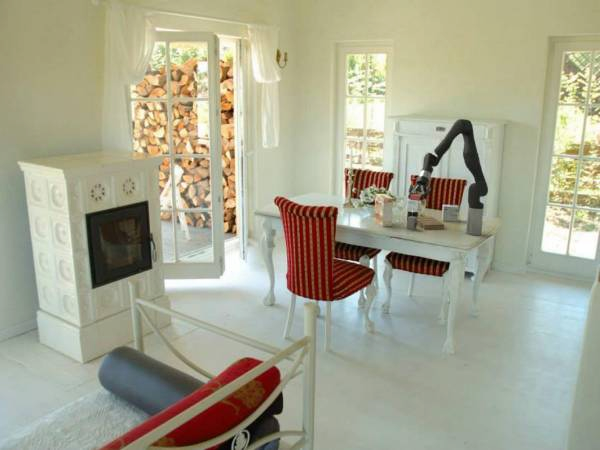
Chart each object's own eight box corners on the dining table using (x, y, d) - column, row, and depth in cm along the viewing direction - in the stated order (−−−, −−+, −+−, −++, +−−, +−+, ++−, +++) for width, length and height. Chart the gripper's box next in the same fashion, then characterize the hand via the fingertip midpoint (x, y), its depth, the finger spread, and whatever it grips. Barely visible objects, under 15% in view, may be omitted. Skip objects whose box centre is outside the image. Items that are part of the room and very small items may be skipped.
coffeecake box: (373, 221, 394) (375, 193, 389) (383, 221, 396) (384, 193, 391) (381, 226, 380) (383, 198, 375) (391, 226, 382) (393, 197, 377)
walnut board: (444, 228, 378) (444, 224, 378) (424, 229, 376) (424, 224, 375) (430, 220, 399) (431, 216, 399) (411, 221, 397) (412, 217, 396)
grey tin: (416, 228, 377) (417, 217, 375) (413, 230, 373) (414, 218, 371) (409, 227, 380) (410, 215, 378) (406, 229, 376) (407, 217, 374)
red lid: (423, 199, 374) (423, 194, 373) (419, 200, 369) (419, 196, 368) (413, 197, 378) (414, 193, 377) (410, 199, 372) (410, 195, 372)
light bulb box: (456, 219, 405) (457, 204, 402) (458, 221, 398) (459, 206, 395) (441, 219, 406) (442, 204, 403) (442, 221, 399) (443, 206, 396)
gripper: (412, 174, 379) (404, 194, 373) (433, 176, 372) (424, 197, 365) (415, 181, 385) (406, 201, 378) (435, 183, 377) (427, 204, 371)
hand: (415, 199), depth 372 cm, fingers closed on red lid, 6 cm apart
